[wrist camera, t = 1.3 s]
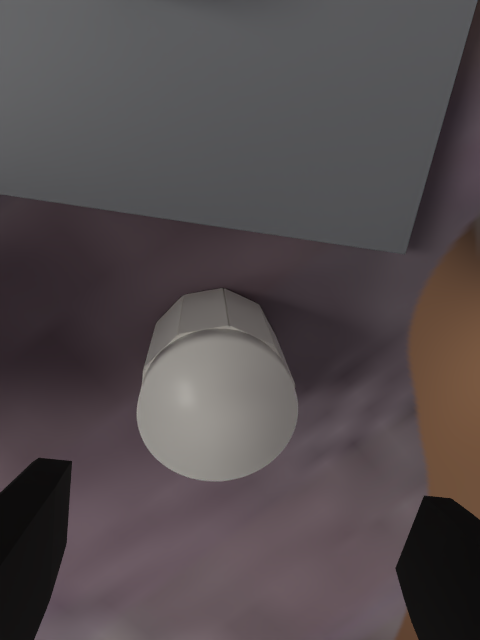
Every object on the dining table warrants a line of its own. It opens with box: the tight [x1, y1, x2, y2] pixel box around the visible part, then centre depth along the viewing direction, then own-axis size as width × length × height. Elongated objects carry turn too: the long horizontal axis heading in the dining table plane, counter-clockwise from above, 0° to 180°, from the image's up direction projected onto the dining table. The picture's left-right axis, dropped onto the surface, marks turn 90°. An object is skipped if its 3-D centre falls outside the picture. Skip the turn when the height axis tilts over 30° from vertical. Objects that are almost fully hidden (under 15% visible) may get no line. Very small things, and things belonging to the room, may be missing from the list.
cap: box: [137, 288, 298, 481], centre depth 16 cm, size 5×5×5 cm
